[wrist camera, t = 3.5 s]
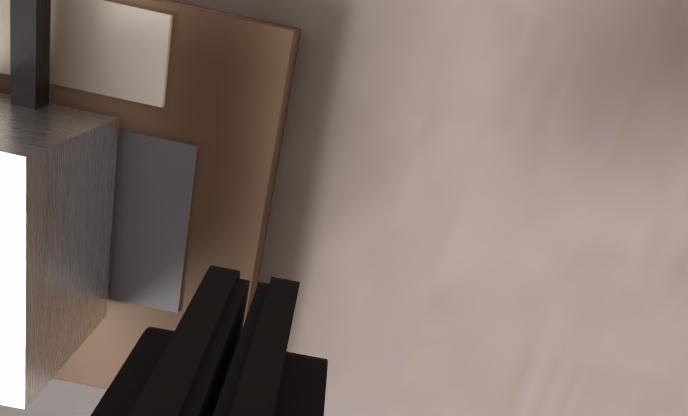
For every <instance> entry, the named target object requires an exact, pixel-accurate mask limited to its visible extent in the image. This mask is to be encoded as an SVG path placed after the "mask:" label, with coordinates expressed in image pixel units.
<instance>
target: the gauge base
mask: <svg viewBox="0 0 688 416" xmlns="http://www.w3.org/2000/svg"><path fill="white" fill-rule="evenodd" d="M300 32H301V29H297V28H292V27H288V26H283V25H279V24H274V23H270V22H265V21H260V20H256V19H251V18H247V17H242V16H238V15H233V14H229V13H224V12H220V11H215V10H211V9H206V8H201V7H197V6H192V5H188V4H183V3H179V2H174V1H170V0H51V26H50V79H49V103H51V104H56V105H60V106H65V107H70V108H74V109H79V110H84V111H88V112H93V113H98V114H102V115H107V116H112V117H116V118H119V125H118V140H117V156H116V172H115V187H114V203H113V219H112V234H111V250H110V265H109V281H108V297H107V312H106V317H105V318H104V319H103V321H102V322H101V323H100V324H99V325H98V326H97V327H96V329H95V330H94V331H93V332H92V333H91V334H90V336H89V337H88V338H87V339H86V340H85V341H84V342H83V344H82V345H81V346H80V347H79V348H78V349H77V350H76V352H75V353H74V354H73V355H72V356H71V357H70V358H69V360H68V361H67V362H66V363H65V364H64V365H63V367H62V368H61V369H60V370H59V371H58V372H57V373H56V375H55V376H54V377H53V379H58V380H63V381H68V382H73V383H78V384H83V385H88V386H93V387H98V388H103V389H108V388H109V386H110V384H111V383H112V381H113V380H114V378H115V376H116V375H117V373H118V372H119V370H120V369H121V367H122V365H123V364H124V362H125V361H126V359H127V357H128V356H129V354H130V353H131V351H132V350H133V348H134V346H135V345H136V343H137V342H138V340H139V338H140V337H141V335H142V334H143V332H144V331H145V330H146V329H147V328H148V327H156V328H161V329H166V330H172V331H175V329H176V327H177V325H178V324H179V322H180V320H181V318H182V316H183V314H184V313H185V311H186V309H187V307H188V305H189V303H190V301H191V300H192V298H193V296H194V294H195V292H196V290H197V289H198V287H199V285H200V283H201V281H202V279H203V277H204V276H205V274H206V272H207V270H208V268H209V267H210V265H213V266H219V267H224V268H229V269H234V270H239V271H240V279H245V280H250V285H249V292H248V298H247V304H246V310H245V316H244V323H245V320H246V317H247V314H248V311H249V308H250V305H251V302H252V299H253V297H254V294H255V291H256V288H257V282H258V276H259V271H260V265H261V259H262V253H263V247H264V241H265V236H266V230H267V224H268V218H269V212H270V206H271V201H272V195H273V189H274V183H275V177H276V171H277V166H278V160H279V154H280V148H281V142H282V136H283V131H284V125H285V119H286V113H287V107H288V102H289V96H290V90H291V84H292V78H293V72H294V67H295V61H296V55H297V49H298V43H299V37H300ZM0 93H4V94H9V95H11V86H10V0H0ZM244 323H243V326H244Z"/></svg>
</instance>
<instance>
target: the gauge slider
mask: <svg viewBox="0 0 688 416" xmlns="http://www.w3.org/2000/svg"><path fill="white" fill-rule="evenodd" d="M50 26H51V0H10V86H11V95H9V94H4V93H0V405H4V406H9V407H14V408H19V409H24V410H25V409H26V408H27V407H28V406H29V404H30V403H31V402H32V401H33V400H34V399H35V398H36V396H37V395H38V394H39V393H40V392H41V391H42V389H43V388H44V387H45V386H46V385H47V384H48V383H49V381H50V380H51V379H52V378H53V377H54V376H55V375H56V373H57V372H58V371H59V370H60V369H61V368H62V367H63V365H64V364H65V363H66V362H67V361H68V360H69V358H70V357H71V356H72V355H73V354H74V353H75V352H76V350H77V349H78V348H79V347H80V346H81V345H82V344H83V342H84V341H85V340H86V339H87V338H88V337H89V336H90V334H91V333H92V332H93V331H94V330H95V329H96V327H97V326H98V325H99V324H100V323H101V322H102V321H103V319H104V318H105V317H106V312H107V297H108V281H109V265H110V250H111V234H112V219H113V203H114V187H115V172H116V156H117V140H118V125H119V118H116V117H112V116H107V115H102V114H98V113H93V112H88V111H84V110H79V109H74V108H70V107H65V106H60V105H56V104H51V103H49V79H50Z"/></svg>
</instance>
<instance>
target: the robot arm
mask: <svg viewBox="0 0 688 416" xmlns="http://www.w3.org/2000/svg"><path fill="white" fill-rule="evenodd" d="M299 284H300V282H296V281H291V280H286V279H281V278H276V277H271V280H270V283H269V284H266V283H261V282H258V285H257V288H256V291H255V294H254V297H253V299H252V302H251V305H250V308H249V311H248V314H247V317H246V320H245V323H244V316H245V310H246V304H247V298H248V292H249V285H250V280H245V279H240V271H239V270H234V269H229V268H224V267H219V266H213V265H210V267H209V268H208V270H207V272H206V274H205V276H204V277H203V279H202V281H201V283H200V285H199V287H198V289H197V290H196V292H195V294H194V296H193V298H192V300H191V301H190V303H189V305H188V307H187V309H186V311H185V313H184V314H183V316H182V318H181V320H180V322H179V324H178V325H177V327H176V329H175V331H172V330H166V329H161V328H156V327H148V328H147V329H146V330H145V331H144V332H143V334H142V335H141V337H140V338H139V340H138V342H137V343H136V345H135V346H134V348H133V350H132V351H131V353H130V354H129V356H128V357H127V359H126V361H125V362H124V364H123V365H122V367H121V369H120V370H119V372H118V373H117V375H116V376H115V378H114V380H113V381H112V383H111V384H110V386H109V388H108V389H107V391H106V392H105V394H104V396H103V397H102V399H101V400H100V402H99V403H98V405H97V407H96V408H95V410H94V411H93V413H92V415H91V416H324V403H325V391H326V378H327V364H328V361H327V359H323V358H317V357H312V356H307V355H301V354H296V353H290V352H286V349H287V344H288V339H289V334H290V329H291V324H292V319H293V314H294V309H295V304H296V299H297V294H298V289H299ZM243 323H244V326H243Z"/></svg>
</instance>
